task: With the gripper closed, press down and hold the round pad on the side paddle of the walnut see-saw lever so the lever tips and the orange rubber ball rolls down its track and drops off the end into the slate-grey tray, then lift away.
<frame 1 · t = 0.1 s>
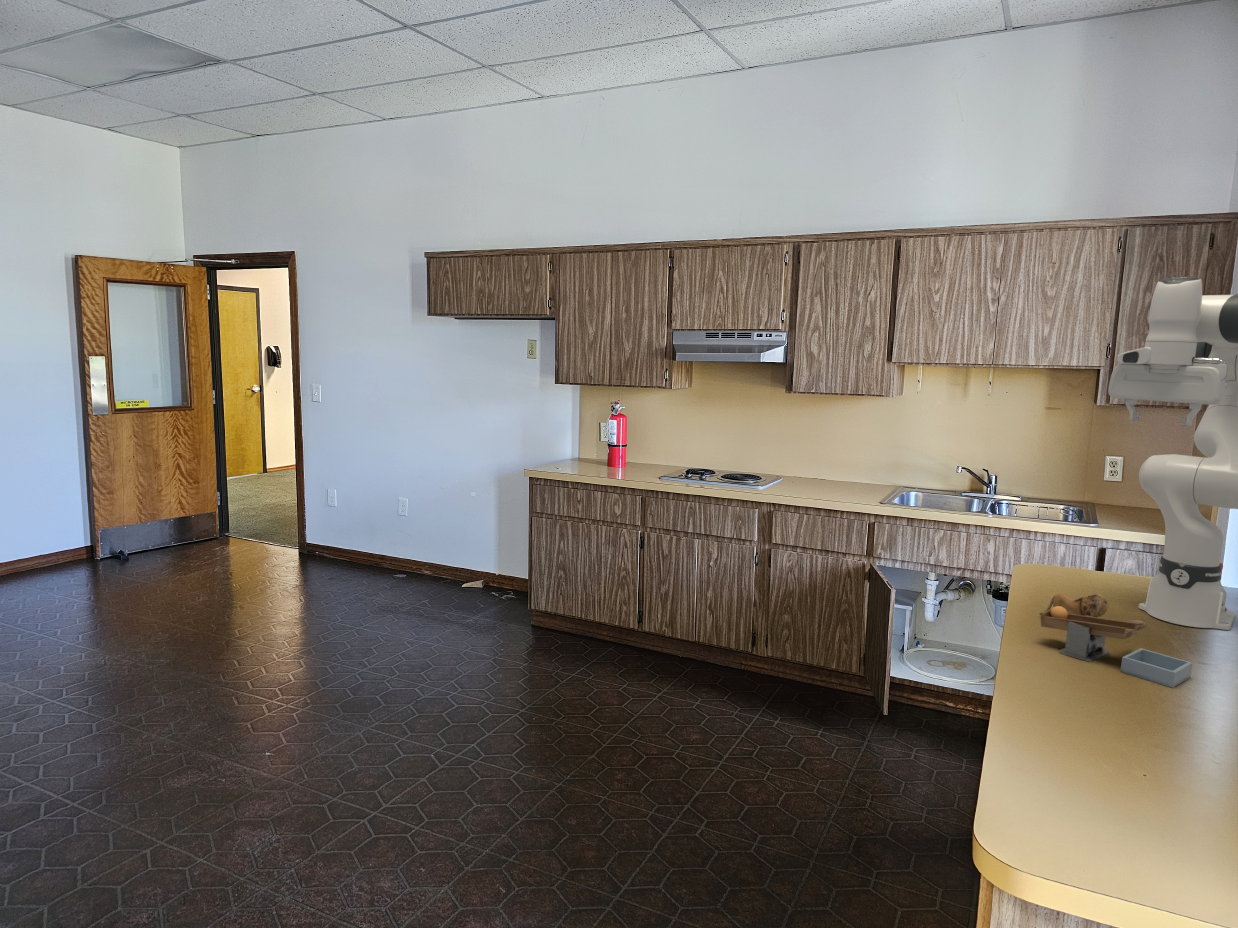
hand: (1159, 423, 168), 48 cm above the counter, fingers open, 8 cm apart
lion figurine: (1073, 627, 184), on the counter
ball: (1058, 613, 171), point 7 cm above the counter, touching lever
tray: (1155, 674, 157), on the counter
lever: (1094, 619, 169), point 6 cm above the counter, hinge at 8.0°, touching ball
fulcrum: (1084, 652, 168), on the counter
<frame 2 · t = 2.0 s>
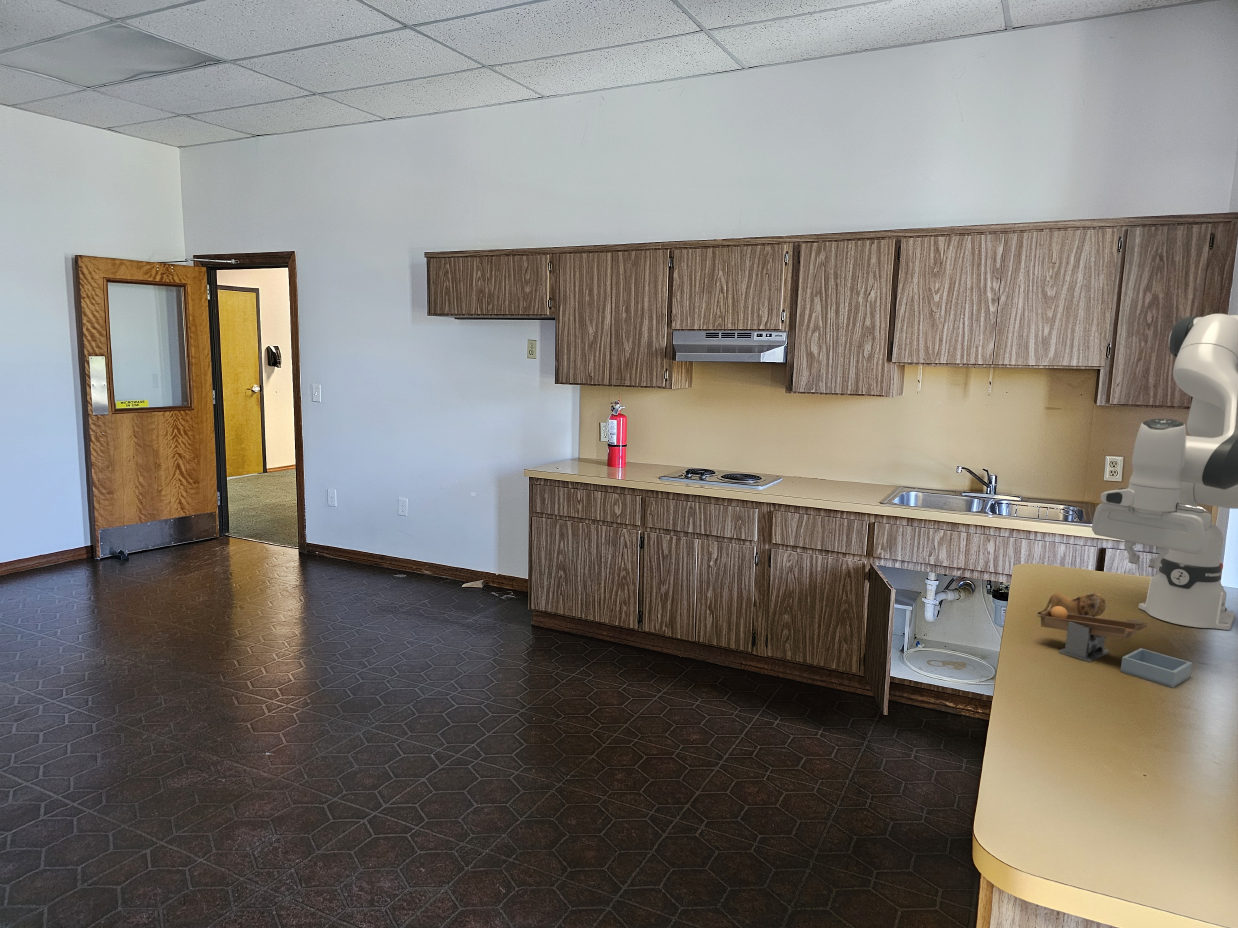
hand: (1143, 565, 165), 19 cm above the counter, fingers closed
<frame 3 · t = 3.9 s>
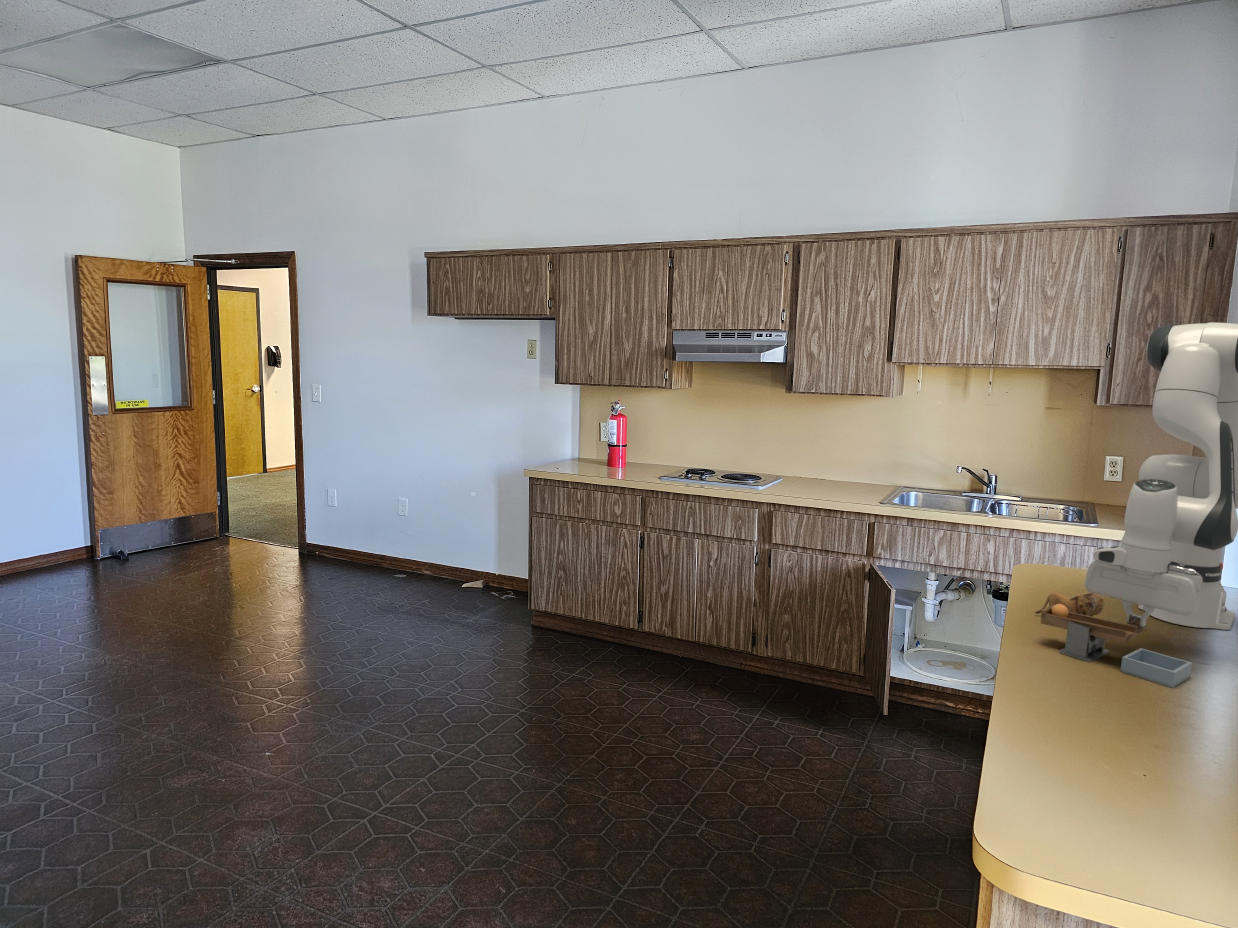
hand: (1135, 624, 167), 7 cm above the counter, fingers closed, pressing on lever
lever: (1094, 619, 169), point 6 cm above the counter, hinge at 3.2°, touching ball, gripper
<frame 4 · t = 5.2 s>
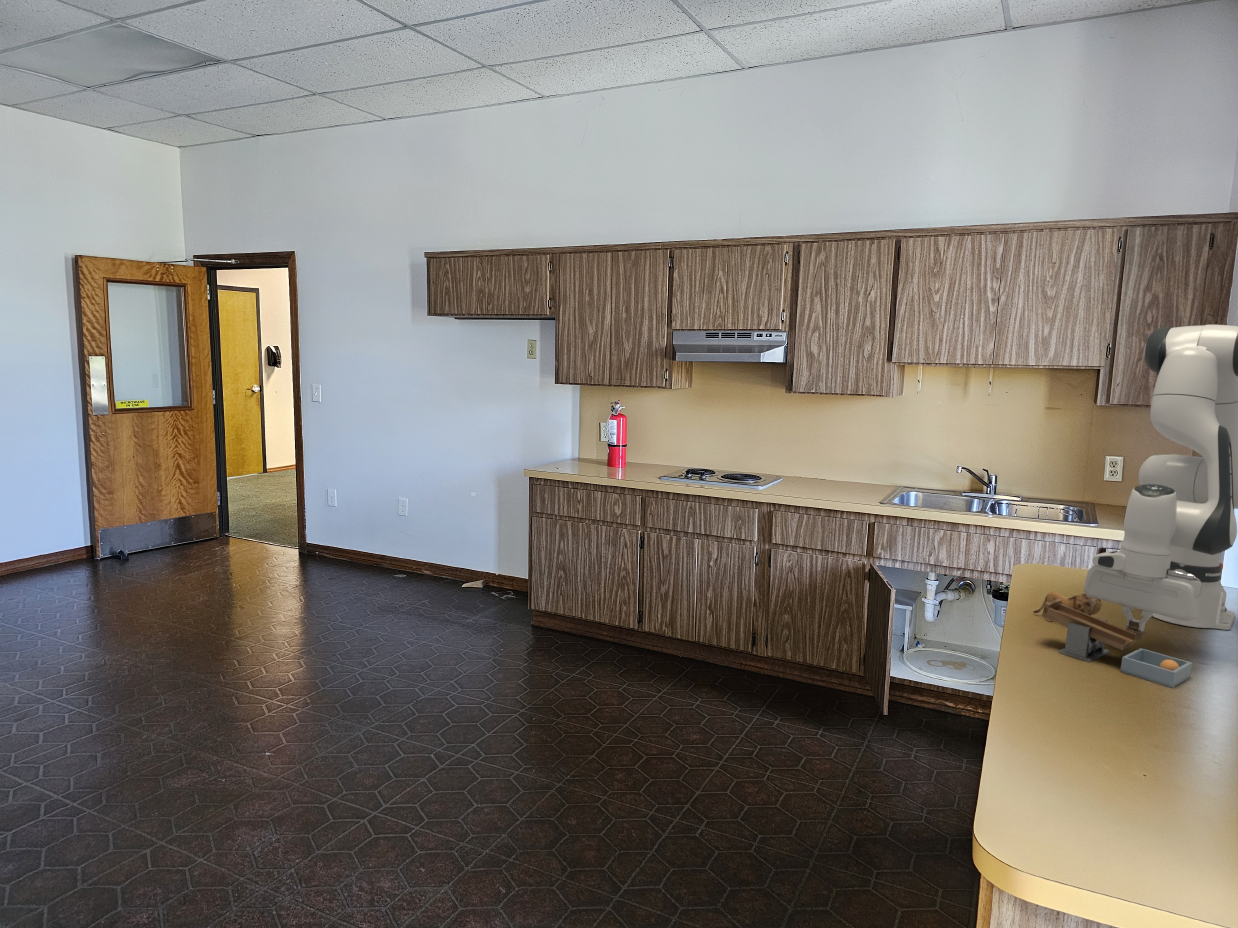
hand: (1134, 628, 167), 6 cm above the counter, fingers closed
ball: (1169, 668, 155), point 2 cm above the counter, tilted 52°, touching tray
lever: (1095, 620, 169), point 6 cm above the counter, hinge at -8.2°, touching gripper
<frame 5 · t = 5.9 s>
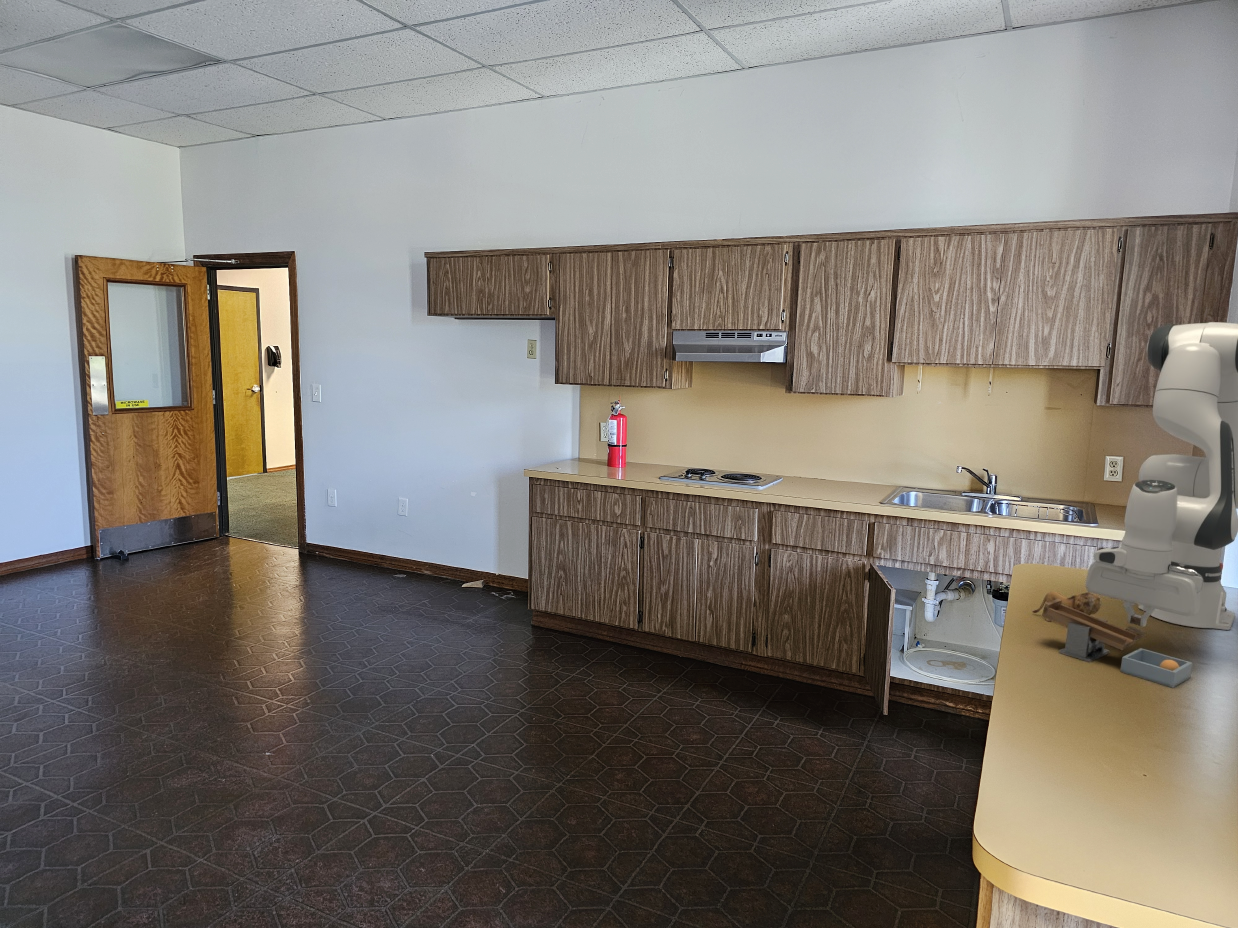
hand: (1136, 624, 167), 7 cm above the counter, fingers closed
lever: (1095, 620, 169), point 6 cm above the counter, hinge at -8.2°
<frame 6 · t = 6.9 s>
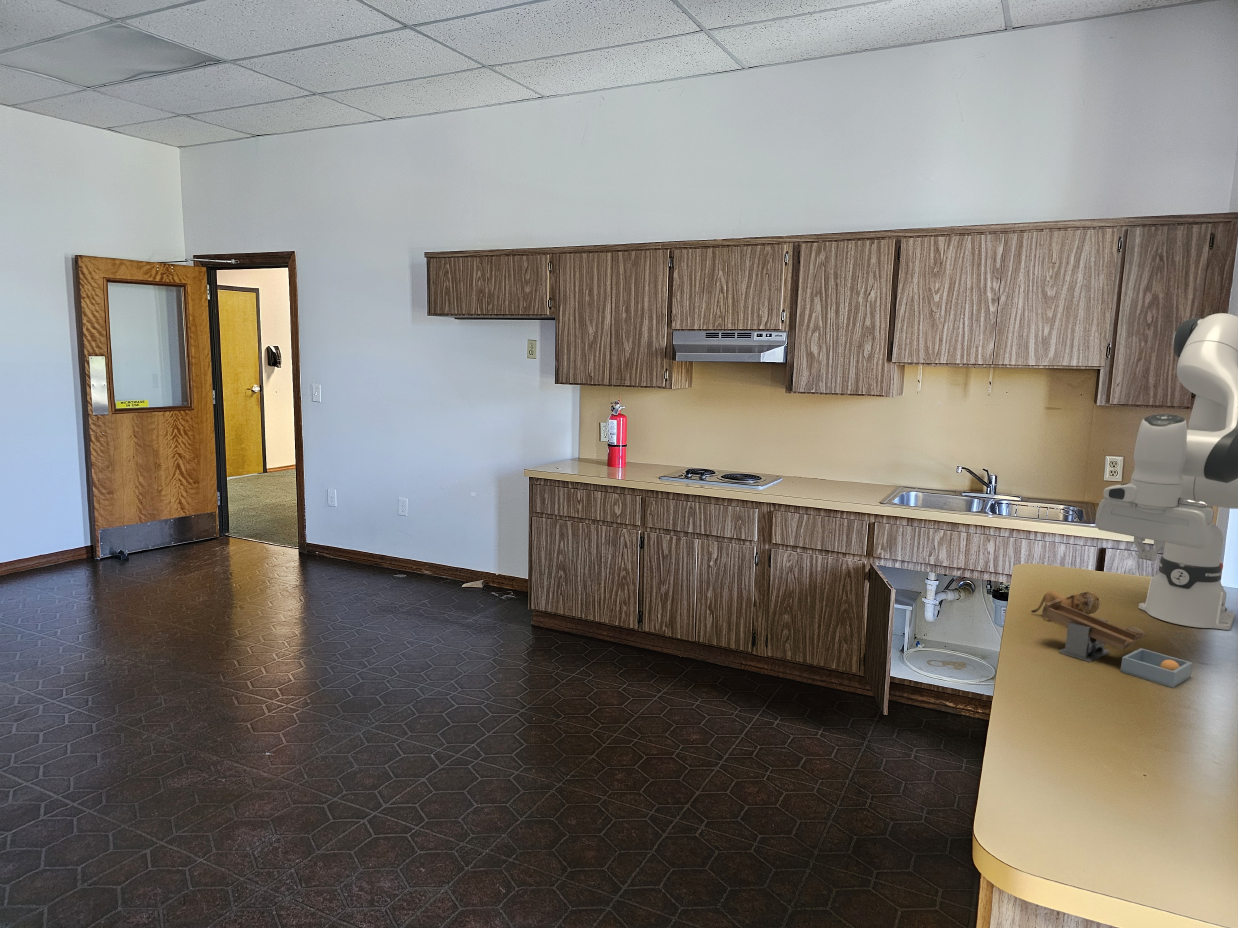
hand: (1147, 559, 167), 20 cm above the counter, fingers closed
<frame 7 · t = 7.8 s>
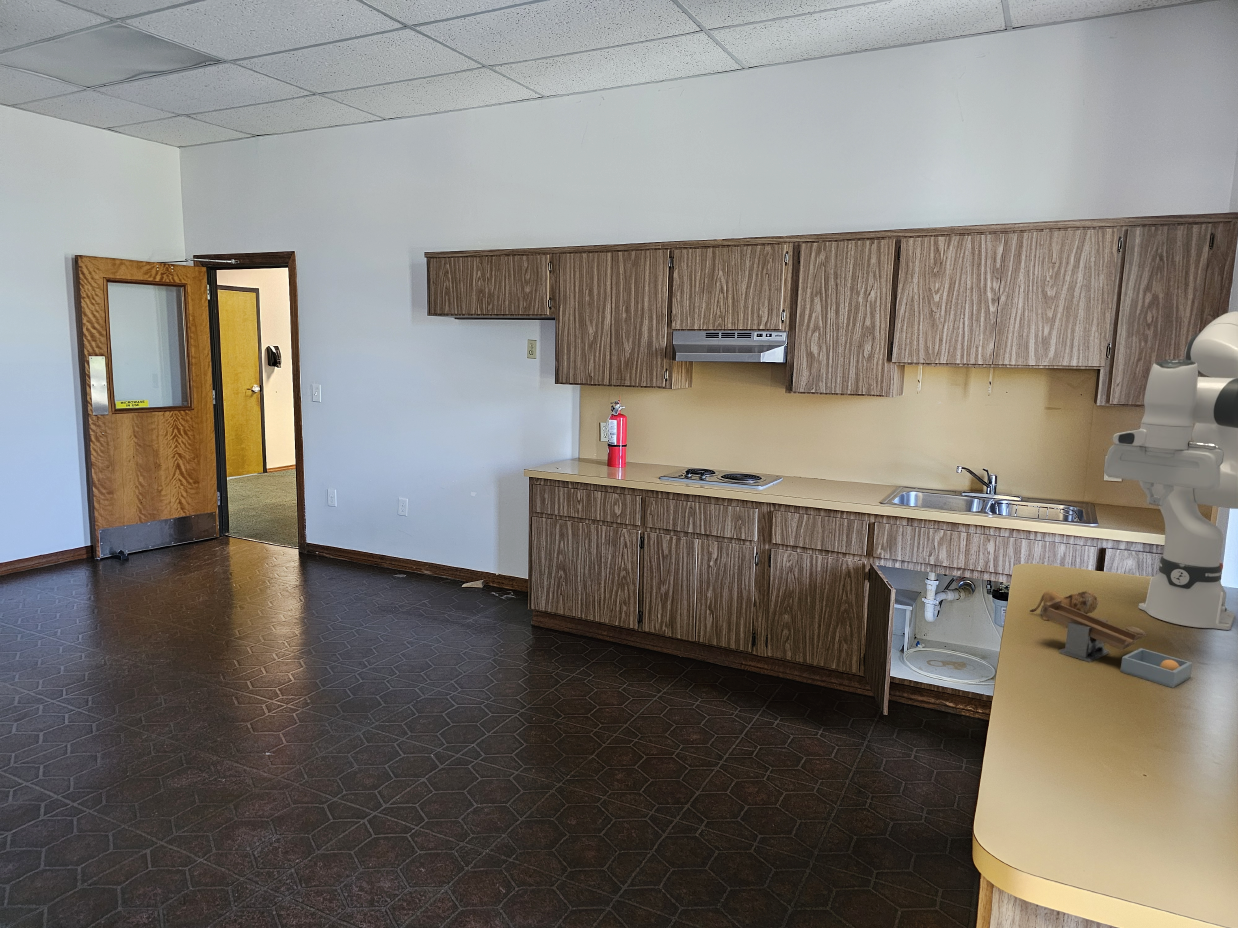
hand: (1155, 505, 167), 31 cm above the counter, fingers closed
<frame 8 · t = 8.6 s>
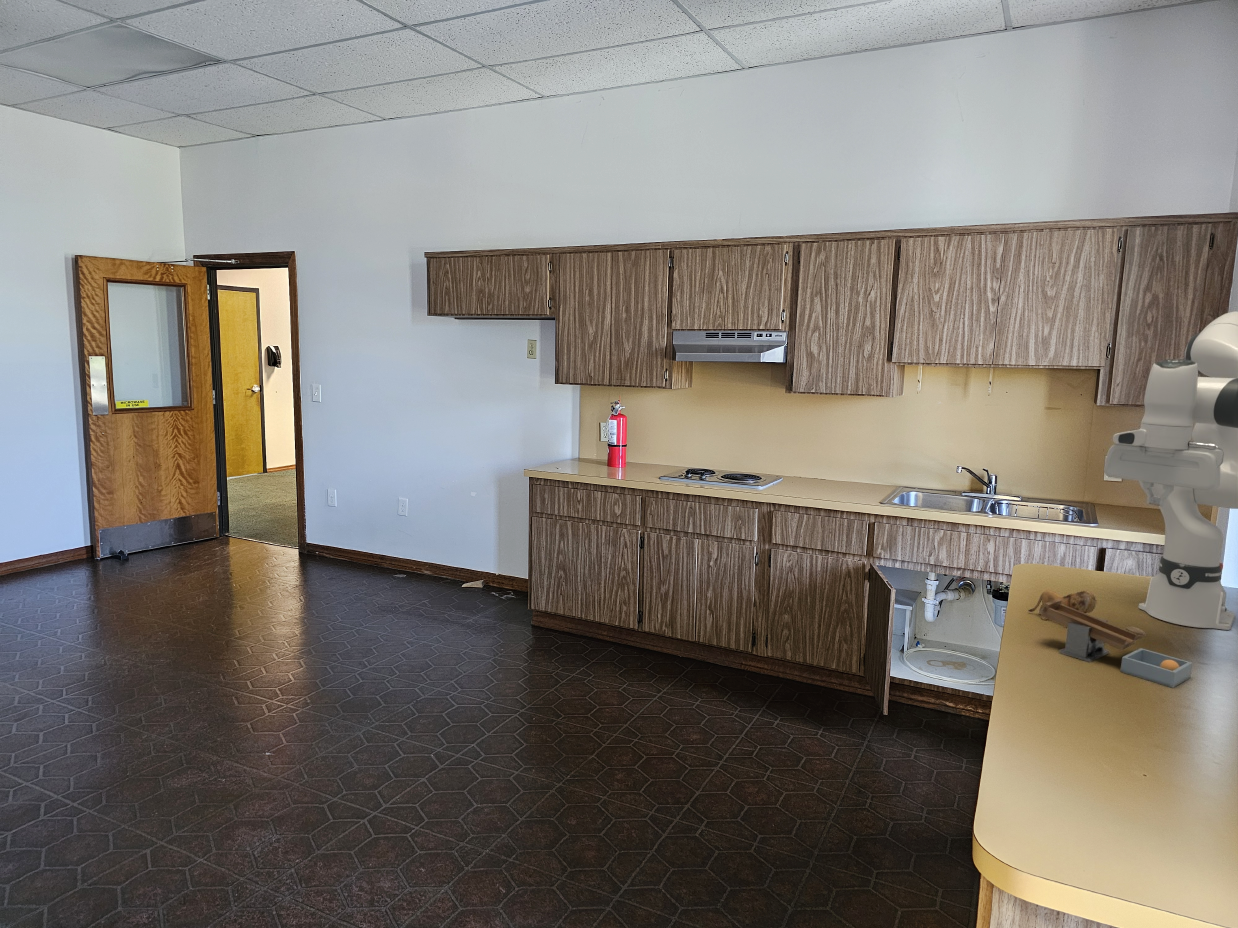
hand: (1155, 505, 167), 31 cm above the counter, fingers closed
at the end: ball inside the target area on the tray (2.3 cm from its centre), point 2.1 cm above the tray's base; ball touching tray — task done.
